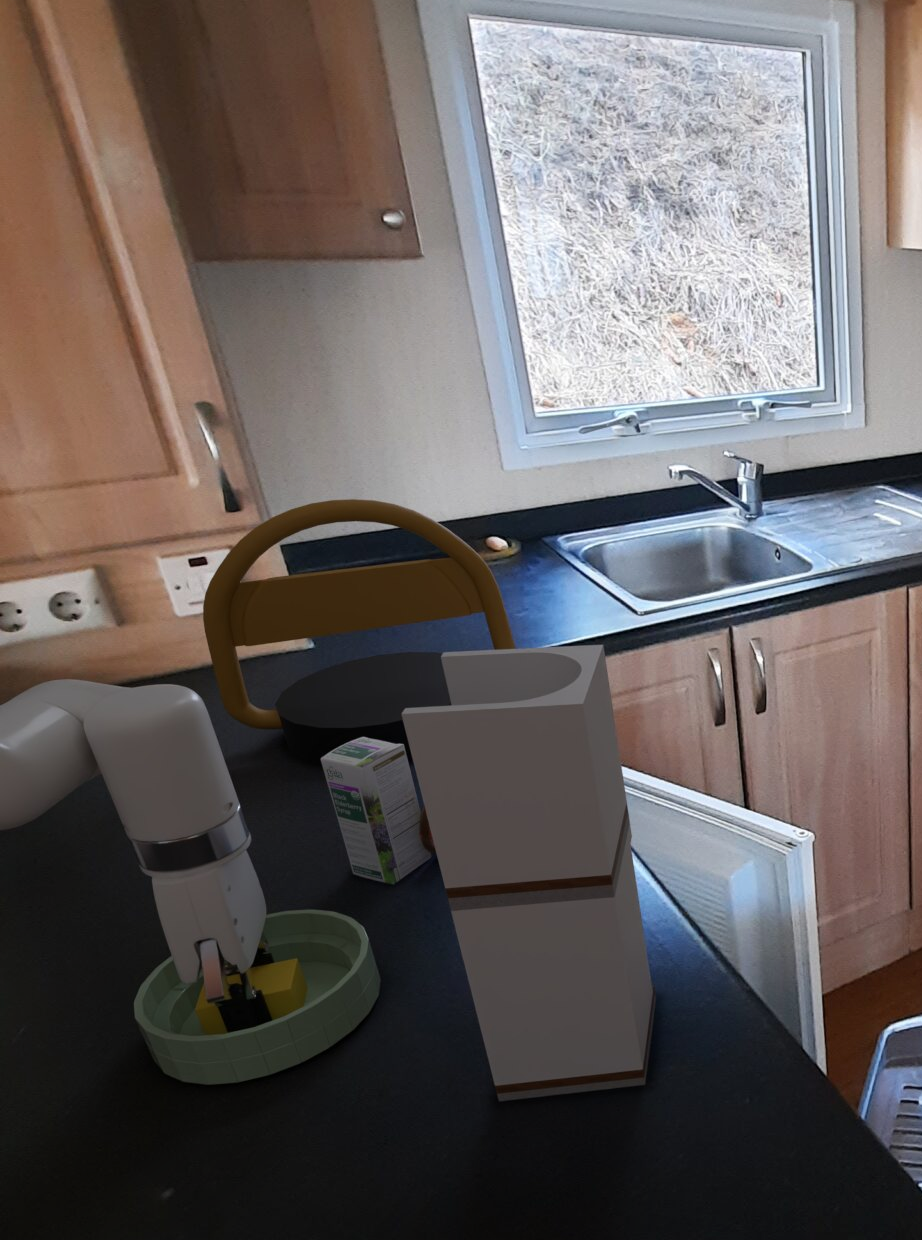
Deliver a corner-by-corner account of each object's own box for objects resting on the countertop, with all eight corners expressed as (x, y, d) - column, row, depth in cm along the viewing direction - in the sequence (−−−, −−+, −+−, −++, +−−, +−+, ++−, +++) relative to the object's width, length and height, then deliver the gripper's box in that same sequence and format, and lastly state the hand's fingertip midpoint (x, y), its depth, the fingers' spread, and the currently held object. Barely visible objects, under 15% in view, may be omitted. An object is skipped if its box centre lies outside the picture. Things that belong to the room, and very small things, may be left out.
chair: (539, 739, 141) (495, 507, 127) (234, 797, 126) (145, 543, 112) (515, 673, 161) (474, 465, 146) (248, 716, 146) (174, 491, 132)
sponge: (207, 1041, 89) (194, 1009, 87) (217, 1007, 93) (205, 976, 91) (301, 1020, 91) (290, 989, 90) (307, 988, 95) (297, 957, 94)
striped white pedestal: (656, 1001, 96) (603, 644, 80) (645, 1088, 86) (583, 703, 70) (525, 1014, 94) (443, 652, 78) (499, 1104, 84) (401, 714, 68)
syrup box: (351, 877, 112) (315, 758, 106) (394, 848, 117) (362, 733, 111) (394, 887, 111) (360, 767, 104) (435, 858, 116) (405, 741, 109)
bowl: (131, 1116, 83) (107, 1064, 80) (181, 981, 97) (162, 934, 94) (374, 1058, 89) (358, 1008, 86) (388, 939, 103) (375, 893, 100)
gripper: (161, 795, 89) (226, 964, 98) (104, 905, 75) (185, 1092, 84) (262, 780, 92) (317, 946, 100) (225, 883, 78) (293, 1066, 86)
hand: (257, 1010), depth 92 cm, fingers closed on sponge, 4 cm apart
